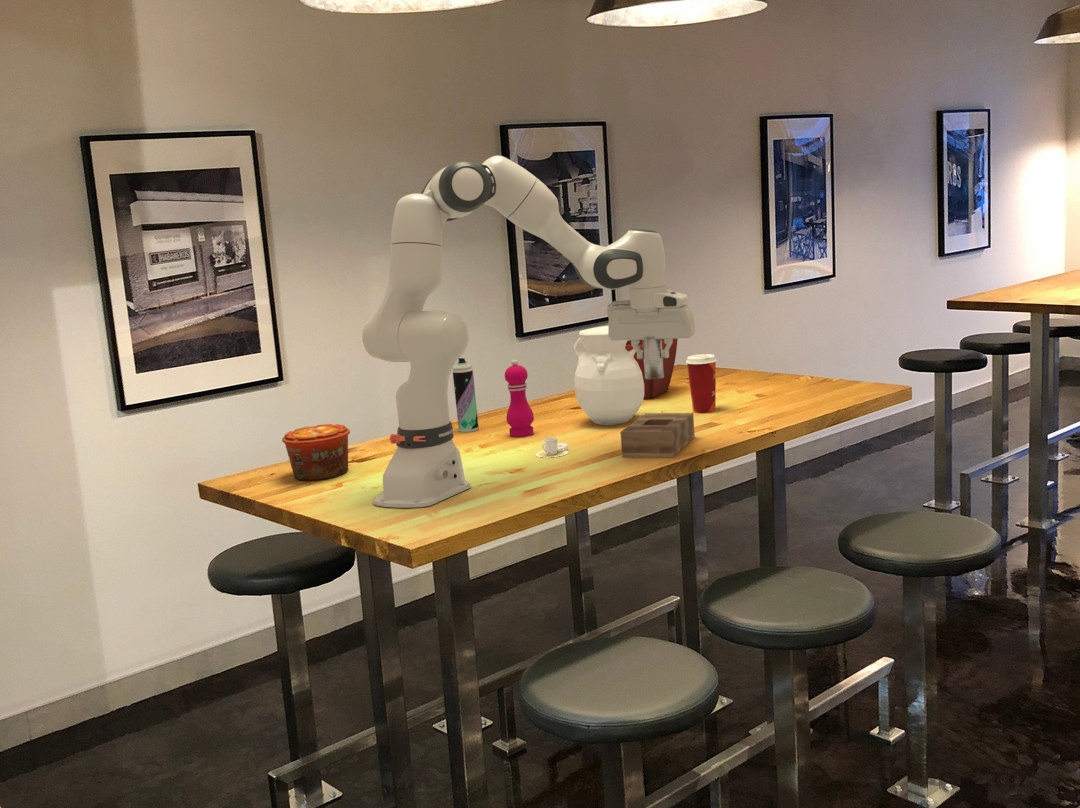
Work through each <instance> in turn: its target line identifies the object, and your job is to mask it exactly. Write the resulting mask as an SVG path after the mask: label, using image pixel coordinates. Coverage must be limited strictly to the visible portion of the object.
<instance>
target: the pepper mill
mask: <svg viewBox="0 0 1080 808" xmlns="http://www.w3.org/2000/svg"><path fill="white" fill-rule="evenodd" d="M528 375H529V374H528V370H527V369H526V368H525V367H524V366H522V365H519V361H518V360H517V359H512V360H511V365H510V366H509V367H507V368H506V369H505V372H504V380H505V381H506V382H507V383H508V384H507V391H509V395H510V400H509V401H510V403H509V407H508V409H507V412H506V416H505V417H506V422H507V424H508V425H509V426H510V428H509V436H510V437H512V438H525V437H529V436H531V435H532V436H533V435H534V427H533V426H532V424H533V422H534V420H535V416H534V415H535V414H534V412H533V410H532V408H531V406H530V404H529V402H528V400H527V396H526V390H527V388H528V386H527V382H526V381H527V379H528V377H529V376H528Z"/></svg>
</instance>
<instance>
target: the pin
mask: <svg viewBox="0 0 1080 808" xmlns="http://www.w3.org/2000/svg"><path fill="white" fill-rule="evenodd" d="M642 342H643V356H644V369H645V379H660V378H663V377H664V370H663V358H661V351H662V342H661V339H655V337H654V336H651V337H644V339H643V340H642Z"/></svg>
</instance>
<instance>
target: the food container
mask: <svg viewBox="0 0 1080 808" xmlns="http://www.w3.org/2000/svg"><path fill="white" fill-rule="evenodd" d="M350 434H351V430H350V429H349V428H347V427H346V425H345V424H340V423H339V424H332V423H330V424H329V423H327V424H325V423H324V424H323V423H322V424H317V425H314V426H313V425H312V426H304V427H300V428H296V429H294V430H293V431H292V430H291V431H290V430H289V431H288V432H286V433H285V434H284V436H283V437H281V442H282V443H284V445H285V449H286V452H287V453H286V454H287V456H288V459H289V463H290V465H291V466H290V467H291V470H292V473H293V476H294V477H293V478H294V479H295V480H297V481H300V482H302V481H304V482H306V481H307V482H310V481H312V482H314V481H320V480H321V481H322V480H328V479H332V478H336V477H339V476H342V475H343V474H345V473H347V472H348V470H349V435H350Z"/></svg>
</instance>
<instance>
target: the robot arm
mask: <svg viewBox="0 0 1080 808" xmlns="http://www.w3.org/2000/svg"><path fill="white" fill-rule="evenodd" d="M483 205H487V206H489V207H491V208H493V209H495V210H496V211H497V212H499V213H500V214H501V215H502V216H503V217H505V219H507V220H508V221H509V222H511V223H512V224H514V225H515V226H517V227H519V228H520V229H522V230H523V231H525V232H526V233H527V232H528V233H529V234H532V235H534V236H536V237H538V238H540V239H541V240H543V241H545V242H546V243H547V244H549V245H550V246H551V247H552V248H553V249H554V250H556V251H557V252H558V253H559V254H560V255H561V256H563V257H564V258H565V259H567V260H568V261H569V262H570V264H571V265H572V267H573V268H574V270H575V272H576V274H577V276H578V278H579V279H580V281H581V282H582V283H583V284H584V285H586V286H588V287H590V288H591V289H603V290H609V291H610V290H611V291H612V290H618V289H621V288H623V287H626V286H628V294H629V299H628V300H627V299H626V300H620V301H619V300H613V301H612V302H611V303H609V304H608V305H607V308H606V314H607V317H608V325H607V326H608V335H609V338H610V339H611V340H612V341H620V340H631V345H632V346H633V348H634V349H635V351H636V352H637V359H644V356H643V350H641V349H640V347H639V345H638V343H640V341H639V340H643V339H644V337H651V336H654V337H655V339H664V342H665V344H667V345H666V347H665V349H664V350H662V351H661V358H668V357H669V349H670V347H671V345H672V343H673V339H676V338H678V339H689V338H692V337H693V336H694V335H695V332H696V326H695V325H696V324H695V318H694V314H693V311H692V308H691V306H689V305H687V304H688V303H689V296H688V295H687V294H685V293H681V292H677V291H674V290H671V289H668V283H667V280H666V279H667V278H666V276H665V274H666V268H667V267H666V266H667V265H666V254H665V247H664V243H663V238H662V236H661V234H660V233H659V232H658V231H656V230H651V229H643V228H642V229H641V228H632V229H629V230H627V232H626V233H625V234H624V235H622V236H621V237H619V239H617V240H616V241H614V242H612V243H611V244H609V245H607V246H605V245H601V244H596V243H593V242H590V241H588V240H587V239H586V238H585V237H584V236H582V235H581V234H580V233H579V232H578V231H576V230H575V229H574V228H573V227H572V226H570V225H569V224H568V223H567V222H566V221H565V220H564V219H563V217H562V215H561V213H560V207H559V201H558V198H557V197H556V195H555V194H554V193H553V192H552V191H551V189H550V188H548V187H547V185H546V184H545V183H543V182H542V181H541V180H540V179H539V178H538V177H536V176H535V175H534V174H532V173H531V172H530V171H528V170H527V169H526V168H525V167H522V166H521V165H519V164H518V163H516V162H514V161H513V160H511V159H509V158H508V157H505V156H503V155H493V156H490V157H488V158H487V159H486V160H485V161H483V162H482V163H476V162H472V161H471V162H470V161H463V160H462V161H456V162H452V163H450V164H449V165H447V166H444V167H443V168H441V169H439V170H438V171H437V172H435V174H434V175H433V176H432V177H430V179H429V180H428V181H427V183H426V184H425V185H424V188H423V189H422V191H421V193H411V194H406V195H404V196H403V197H401V198H399V200H398V201H397V203H396V205H395V208H394V209H395V210H394V213H393V216H392V217H393V218H392V225H391V231H390V232H391V233H390V235H391V236H390V254H389V256H390V259H389V273H388V274H389V275H388V281H387V282H388V283H387V287H386V290H385V294H384V296H383V299H382V301H381V303H380V305H379V307H378V308H377V310H376V311H375V312H374V314H373V315H372V316H371V317H370V318H368V320H367V321H366V322H365V324H364V326H363V329H362V336H361V337H362V343H363V346H364V348H365V350H366V352H367V353H368V355H369V356H371V357H372V358H374V359H375V358H376V359H379V360H382V361H385V362H389V363H409V364H410V370H409V371H410V372H409V376H408V379H407V380H406V381H405V382H403V383H402V384H401V385H400V386H399V387H398V389H397V391H396V393H395V402H396V410H397V419H398V420H397V421H398V427H397V432H396V434H394V433H391V434H390V435H389V442H390V444H392V445H394V444H396V449H395V452H394V453H393V455H392V457H391V459H390V461H389V463H388V464H387V467H386V468H385V470H384V472H383V476H382V486H383V487H382V488H383V489H382V490H383V491H382V492H381V493H380V494H379V495H377V496H375V497H374V499H373V500H372V501H373V505H374V506H378V507H385V508H399V509H400V508H401V509H403V508H406V509H407V508H410V509H411V508H422V507H429V506H432V505H435V504H437V503H440V502H441V501H443V500H446V499H448V498H451V497H452V496H455V495H457V494H459V493H461V492H463V491H467V490H468V489H470V488H471V487H472V486H471V482H470V481H468V480H466V478H465V477H466V476H465V472H464V466H463V462H462V457H461V452H460V450H459V448H458V447H457V446H456V444H455V443H454V440H453V439H454V427H453V422H452V421H451V419H450V411H449V398H448V397H449V396H448V393H449V392H448V390H449V389H448V387H449V386H448V385H449V379H450V375H451V372H452V371H453V367H454V365H456V362H458V358H462V356H463V355H464V353H465V352H466V349H467V347H468V343H469V337H470V335H469V330H468V327H467V325H466V322H465V321H464V319H463V318H462V317H461V316H460V315H457V314H455V313H451V312H447V311H442V310H423V309H424V307H425V306H424V305H425V304H426V301H427V299H428V298H429V296H430V295H431V294H432V293H433V292H434V291H436V290H438V288H439V287H440V285H441V283H442V279H443V246H444V245H443V244H444V243H443V232H444V227H445V225H446V222H451V221H454V220H458V219H460V218H463V217H466V216H469V214H472V212H474V211H476V210H478V209H479V208H481V206H483Z"/></svg>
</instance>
